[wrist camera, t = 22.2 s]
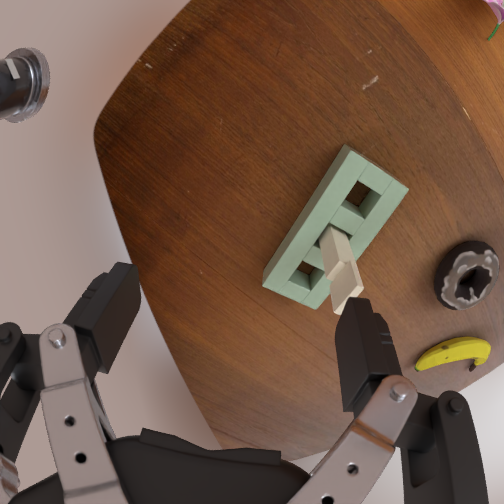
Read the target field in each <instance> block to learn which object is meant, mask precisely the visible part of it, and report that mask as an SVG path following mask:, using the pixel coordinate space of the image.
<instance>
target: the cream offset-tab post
mask: <svg viewBox="0 0 504 504" xmlns="http://www.w3.org/2000/svg"><path fill="white" fill-rule="evenodd" d="M318 238H319V243H320V249H321V254H322V259H323V265H324V270H325V276H326V278H327V279H329V280H331V281H333V282H332V283H331V284H330V285H329V288H330V293H331V299H332V305H333V311H334V313H336V314H338V315H341V314H342V311H343V309H344V306H345V304H346V301H347V299H348V298H349V297H357V296H358V295H359V294H360V293H361V291H362V290H363V289H364V287H363V284H362V281H361V278H360V274H359V271H358V268H357V265H356V261H355V259H354V256H353V253H352V250H351V247H350V244H349V241H348V238H347V235H346V232H345V231H344V230H342V229H340V228H338V227H337V226H335V225H333V224H331V223H328V224H327V226H326V227H325V229H324V230H323V231H322V233H321V234H320V236H319V237H318Z"/></svg>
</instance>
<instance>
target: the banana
mask: <svg viewBox="0 0 504 504" xmlns="http://www.w3.org/2000/svg"><path fill="white" fill-rule="evenodd" d="M490 349H491V347H490V344H489V343H488V342H486V341H485V340H482V339H479V338H476V337H468V336H467V337H459V338H454V339H451V340H447V341H444V342H441V343H440V344H438V345H436V346H434V347H432V348H431V349H429V350H428V351H427V352H425V353H424V354H423V355H422V356H421V357H420V358H419V360H418V362H417V364H416V366H415V370H416V371H417V372H418V371H420V370H425V369H428V368H431V367H433V366H436V365H440V364H443V363H447V362H452V361H457V360H462V359H467V358H472V359H475V361H474V363H473V364H472V365H471V366H470V368H469V371H470V372H471V371H472V370H474V369H475V367H476V366H477V365H479V364H483V363H484V362H485V361H486V360H487V358H488V356H489V354H490Z"/></svg>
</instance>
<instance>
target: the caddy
mask: <svg viewBox="0 0 504 504" xmlns="http://www.w3.org/2000/svg"><path fill="white" fill-rule="evenodd" d="M357 180H358V181H360V182H361V183H363V184H365V185H366V186H368V187H369V188H371V190H370V191H369V193H368V194H367V196H366V197H365V199H364V200H363V202H362V203H361V205H360V206H359V207H357V206H355V205H354V204H352V203H350V202H349V201H347V200H345V198H346V196H347V195H348V193H349V192H350V190H351V189H352V187H353V186H354V184H355V183H356V181H357ZM408 190H409V189H408V188H407V187H406V186H405V185H404V184H403V183H402V182H401V181H400V180H399V179H398V178H397V177H395V176H394V175H392V174H391V173H390V172H388V171H387V170H385V169H384V168H382V167H381V166H379V165H378V164H376V163H375V162H373V161H372V160H370V159H369V158H367V157H366V156H364V155H363V154H361V153H359V152H358V151H356V150H355V149H353V148H352V147H350V146H348V145H347V144H344V145H343V147H342V148H341V150H340V152H339V153H338V155H337V156H336V158H335V160H334V161H333V163H332V164H331V166H330V168H329V169H328V171H327V172H326V174H325V175H324V177H323V179H322V180H321V182H320V183H319V185H318V187H317V188H316V190H315V191H314V193H313V194H312V196H311V198H310V199H309V201H308V202H307V204H306V205H305V207H304V209H303V210H302V212H301V213H300V215H299V216H298V218H297V219H296V221H295V223H294V224H293V226H292V227H291V229H290V230H289V232H288V233H287V235H286V237H285V238H284V240H283V241H282V243H281V244H280V246H279V247H278V249H277V250H276V252H275V254H274V255H273V257H272V258H271V260H270V261H269V263H268V264H267V266H266V267H265V269H264V271H263V282H262V286H263V287H265V288H268V289H270V290H272V291H274V292H277V293H279V294H281V295H283V296H286V297H288V298H290V299H292V300H295V301H297V302H299V303H301V304H304V305H306V306H308V307H311V308H313V309H315V310H316V309H317V308H318V307H319V306H320V304H321V303H322V302H323V301H324V300H325V299H326V297H327V296H328V295H329V294H330V288H329V285H330V284H331V283H332V282H333V281H331V280H329V279H327V278H326V276H325V270H324V265H323V259H322V254H321V249H320V243H319V238H318V237H319V236H320V234H321V233H322V231H323V230H324V229H325V227H326V226H327V224H328V223H331V224H333V225H335V226H337V227H338V228H340V229H342V230H344V231H345V232H346V235H347V238H348V241H349V244H350V247H351V250H352V253H353V256H354V259H355V261H356V260H357V259H358V258H359V257H360V255H361V254H362V253H363V251H364V250H365V249H366V248H367V246H368V245H369V244H370V242H371V241H372V240H373V238H374V237H375V236H376V234H377V233H378V232H379V230H380V229H381V228H382V226H383V225H384V224H385V222H386V221H387V220H388V218H389V217H390V215H391V214H392V213H393V211H394V210H395V209H396V207H397V206H398V204H399V203H400V202H401V200H402V199H403V197H404V196H405V194H406V193H407V192H408ZM302 260H303V261H304V262H307V263H309V264H311V265H313V266H315V268H314V270H313V271H312V272H311V274H310V275H307V274H305V273H303V272H301V271H299V270H297V269H296V268H297V267H298V266H299V264H300V263H301V261H302Z"/></svg>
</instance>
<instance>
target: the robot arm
mask: <svg viewBox="0 0 504 504" xmlns="http://www.w3.org/2000/svg"><path fill="white" fill-rule="evenodd" d="M35 87H36V74H35V70H34V67H33V65H32V63H31V61H30V60H29V59H27V58H26V57H23V56H17V57H13V58H6V59H0V120H1V119H4V118H7V117H10V116H15V115H18V114H20V113H22V112H23V111H25V110H26V109H27V107H28V106H29V104H30V103H31V101H32V98H33V96H34V92H35ZM140 304H141V292H140V284H139V276H138V268H137V266H136V265H134V264H127V263H122V262H117V263H116V264H115V265H114V266H113V268H112V269H111V270H110V272H109V273H102V274H101V275H99V276H98V277H96V278H95V279H94V280H93V281H92V282H91V284H90V285H89V286H88V288H87V290H85V292H84V293H83V294H82V297H81V298H80V299H79V300H78V301H77V303H76V304H75V306H74V307H73V309H72V310H71V311H70V313H69V314H68V316H67V317H66V319H65V320H64V322H63V323H58V324H54V325H51V326H49V327H48V328H46V329H45V330H44V331H43V332H42V334H23V333H22V331H21V329H20V327H19V326H18V325H17V324H15V323H11V322H7V323H3V324H1V325H0V396H1V393H2V390H3V388H4V386H5V385H6V382H7V381H8V379H9V377H10V376H11V377H12V378H11V380H10V382H9V384H8V386H7V388H6V390H5V392H4V394H3V396H2V398H1V400H0V504H361V503H362V502H363V500H364V499H365V498H366V496H367V495H368V493H369V492H370V490H371V489H372V487H373V486H374V484H375V483H376V481H377V480H378V478H379V476H380V475H381V473H382V472H383V470H384V469H385V467H386V465H387V464H388V462H389V460H390V459H391V457H392V455H393V454H394V451H395V447H399V448H400V450H401V461H402V473H403V485H404V504H489V501H488V494H487V487H486V480H485V474H484V469H483V463H482V458H481V453H480V449H479V444H478V439H477V435H476V431H475V427H474V423H473V419H472V415H471V412H470V408H469V405H468V403H467V401H466V399H465V398H464V397H463V396H462V395H461V394H459V393H458V392H455V391H445V392H443V393H442V394H441V395H440V396H439V397H438V398H435V397H431V396H428V395H424V394H421V393H418V392H417V389H416V387H415V385H414V384H413V383H412V382H411V381H410V380H409V379H407V378H406V377H404V376H403V375H402V372H401V368H400V365H399V361H398V358H397V354H396V351H395V347H394V345H393V341H392V337H391V336H390V331H389V328H388V325H387V323H386V321H385V320H384V319H383V317H382V316H381V315H380V314H379V313H373V310H372V307H371V303H370V300H369V299H366V298H358V297H349V298H348V299H347V301H346V304H345V306H344V309H343V311H342V314H341V316H340V319H339V321H338V324H337V327H336V331H335V345H336V352H337V360H338V368H339V376H340V384H341V393H342V403H343V412H354V419H353V421H352V422H351V423H350V425H349V426H348V427H347V429H346V430H345V431H344V433H343V434H342V435H341V437H340V438H339V439H338V440H337V442H336V443H335V444H334V445H333V447H332V448H331V449H330V450H329V452H328V453H327V454H326V455H325V456H324V458H323V459H322V460H321V461H320V462H319V463H318V465H317V466H316V467H315V468H314V469H313V470H312V471H311V472H310V473H309V474H308V473H307V472H306V471H304V470H303V469H301V468H300V467H298V466H296V465H295V464H293V463H290V462H288V461H286V460H283V459H281V451H276V450H264V449H254V448H238V449H226V450H207V449H204V448H202V447H199V446H197V445H195V444H192V443H190V442H188V441H186V440H184V439H181V438H179V437H177V436H175V435H170V434H166V433H161V432H158V431H153V430H150V429H146V428H142V431H141V434H140V435H135V436H126V437H121V438H116V436H115V434H114V431H113V429H112V427H111V425H110V423H109V420H108V418H107V415H106V412H105V409H104V407H103V403H102V400H101V397H100V394H99V391H98V388H97V384H96V381H95V379H94V378H95V376H96V374H97V372H98V371H99V372H102V373H106V374H108V373H109V370H110V368H111V366H112V364H113V362H114V360H115V358H116V356H117V353H118V351H119V349H120V347H121V345H122V343H123V341H124V339H125V337H126V335H127V333H128V331H129V328H130V327H131V325H132V323H133V321H134V319H135V317H136V315H137V313H138V311H139V308H140ZM40 399H41V403H42V409H43V414H44V419H45V424H46V429H47V433H48V437H49V442H50V446H51V450H52V453H53V457H54V461H55V464H56V468H57V471H58V472H57V473H55V474H53V475H51V476H49V477H47V478H45V479H44V480H42V481H40V482H38V483H36V484H34V485H32V486H30V487H29V488H27V489H25V490H23V491H21V492H19V493H18V489H17V488H18V487H19V486H20V480H19V478H18V471H17V468H16V466H15V461H16V458H17V456H18V453H19V450H20V448H21V445H22V442H23V440H24V437H25V435H26V432H27V430H28V427H29V425H30V422H31V420H32V417H33V415H34V413H35V410H36V408H37V406H38V403H39V401H40ZM394 446H395V447H394Z"/></svg>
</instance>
